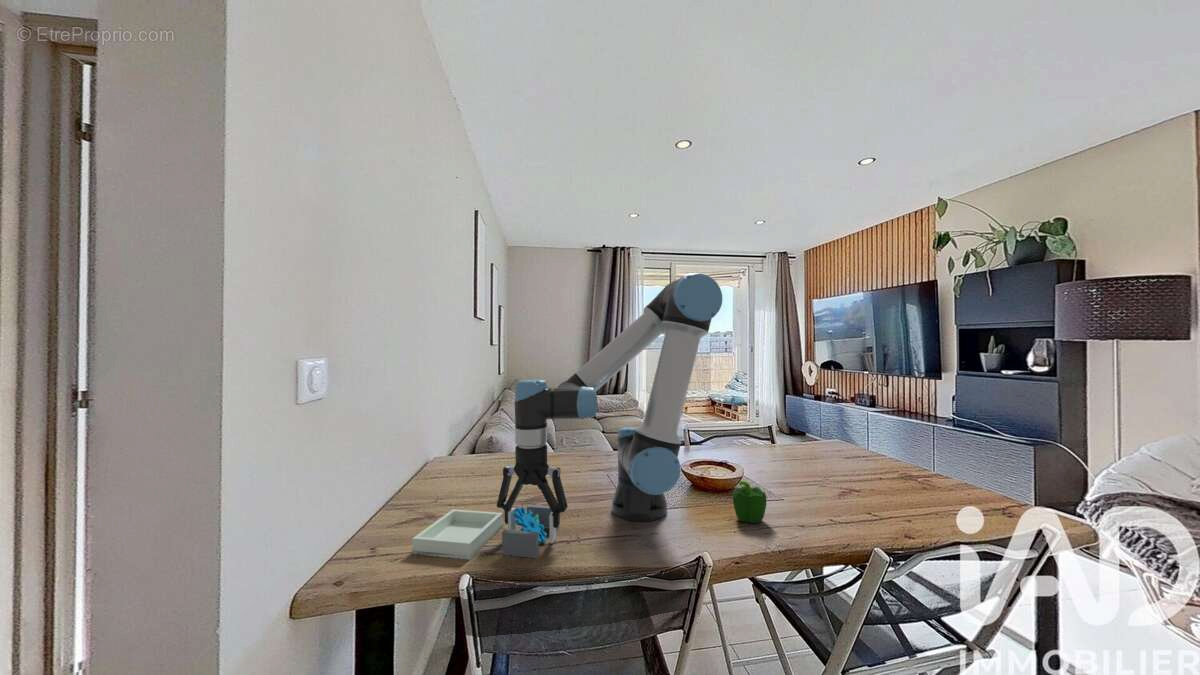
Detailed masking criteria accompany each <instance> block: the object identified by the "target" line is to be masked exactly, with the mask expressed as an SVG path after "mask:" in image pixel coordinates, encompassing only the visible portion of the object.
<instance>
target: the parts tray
mask: <svg viewBox="0 0 1200 675" xmlns="http://www.w3.org/2000/svg"><path fill="white" fill-rule="evenodd" d="M502 528H504V513H503V512H494V511H481V510H480V511H478V510H470V509H469V510H468V509H467V510H465V509H451V510H450V511H449V512H447V513H446V514H444V515H443V516H441V517H440V518H439V519H437V520H436V521H434V522H433V523H432V524H431V525H429V526H427V527H426V528H425V529H423V530H422V531H421V532H419V533H418V534H416V535H415V536H413V537H412V542H411V543H412V545H411V546H412V550H411V551H412V555H417V554H420V555H419V556H427V555H428V556H430V557H437V556H438V557H439V558H448V557H449V558H450V559H458V558H459V560H468V561H470V560H471V559H473V557H475V555H476V554H477V553H479V552H480V550H481V549H483V547H484V546H485V545H486V544H487V543H488V542H490V540H491V539H493V538H494V536H495V535H496V534H497V533H498V532H499V531H500V530H502Z"/></svg>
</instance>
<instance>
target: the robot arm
mask: <svg viewBox="0 0 1200 675" xmlns="http://www.w3.org/2000/svg"><path fill="white" fill-rule="evenodd" d="M722 305H723V293H722V289H721V287H720V286H719V284H718V283H717V281H716V280H715V279H714V278H712V277H711V276H710V275H708V274H706V273H701V272H695V273H687V274H685V275H683V276H681V277H679V278H678V279H675V280H673V281H671V282H670V283H668V284H666V286H664V288H663V289H662V290H661V291H660V292H659V293H658V294H657V295H656V296H655V298H653V299H652V300H651V301H650V302H649V303H648V304H647V305H646V306H645V307H643V312H642V314H641V315H639V317H638V318H636V319H635V320H634V321H633V322H632V323H631V324H630V325H629V326H627V327H626V328H625V329H624V330H623V331H622V332H620V333H619V334H618V335H617V336H616V337H615V338H613V339H612V341H610V342H609V343H608V344H607V345H606V346H604V347H603V348H602V349H601V350H599V351H598V353H596V354H595V355H594V356H593V357H591V359H589V360H588V361H587V362H586V363H585V364H584V365H583V366H581V367H580V368H579V369H578V370H577V371H575V373H574V374H572V375H571V376H570V377H569V378H568V379H567V380H565V381H562V382H561V383H560V384H559V385H558V386H557V387H550V386H549V387H548V385H547V381H546V380H545V379H539V378H537V379H529V378H528V379H521V380H518V381H517V382H516V384H515V387H514V388H515V389H514V424H515V425H514V427H515V428H514V429H515V430H514V433H515V434H514V437H515V438H514V439H515V440H514V443H515V445H516V447H515V448H514V449H515V451H514V452H515V453H514V454H515V465H511V464H507V465H506V466H505V467H504V468H502V475H503V476H502V481H501V485H500V490H499V495H498V497H497V498H498V499H497V502H496V508H498V509H503V511H504V524H505V525H507V530H516V528H517V527H516V526H517V525H516V522H515V521H516V520H517V518H515V517H514V516H513V515H514V513H515V512H516V511H515V510H516V507H513V506H514V504H515V502H516V499H517V498H518V496H519V494H520V492H521V490H522V488H523V486H528V485H531V486H537V487H538V489H539V490H540V492H541V493H542V495H543V498H544V499H545V502H546V503H547V506H549V507H550V509H551V511H552V512H551V514H550V515H549V528H548V529H549V543H550V544H554V543H555V541H556V539H557V529H558V528H559V527H560V524H561V513H564V512H566V510H567V508H568V502H567V497H566V494H565V491H564V487H563V484H562V479H561V470H562V469H561V468H560V467H558V466H557V467H556V468H553V467H549V465H548V445H547V443H548V420H557V419H558V420H563V419H564V420H566V419H568V420H569V419H571V420H572V419H580V420H583V419H591V418H595V416H596V415H597V410H598V400H597V399H598V397H597V391H598V390H600V388H602V387H603V386H604V385H605V384H606V383H607V382H609V380H611V379H612V378H613V377H614V376H615V375H617V374H618V373H619V372H620V371H621V370H622V369H624V367H626V365H628V364H629V363H630V362H631V361H633V360H634V358H636V357H637V356H638V355H639V354H640V353H642V352H643V351H644V350H645V349H646V348H648V346H650V345H651V344H652V343H653V342H654V341H655V340H656V339H658V338H659V337H660V336H661V335H664V337H663V342H662V346H661V349H660V354H659V358H658V362H657V366H656V370H655V373H654V378H653V382H652V387H651V390H650V394H649V398H648V402H647V404H646V405H647V406H646V410H645V413H644V418H643V420H642V421H643V422H642V424H641V425H639V426H625V427H622V428H621V427H620V428H619V429H618V431H617V438H616V441H617V485H616V489H615V491H614V495H613V498H612V502H611V511H612V513H613V515H615V516H616V517H617V518H620V519H623V520H626V521H631V522H632V521H633V522H650V521H655V520H659V519H662V518H664V517H665V516H666V515H667V513H668V502H667V499H666V497H665V494H666V493H667V492H669V491H670V490H672V489H673V488H674V487H676V485H677V483H678V482H679V479H680V477H681V472H682V471H681V464H680V459H679V458H678V456H679V453H680V448H681V444H682V440H681V439H680V436H679V435H678V430H679V426H680V422H681V418H682V415H683V409H684V406H685V401H686V398H687V394H688V390H689V385H690V382H691V378H692V374H693V371H694V370H693V369H694V365H695V361H696V357H697V353H698V348H699V345H700V341H701V339H702V338H703V337H704V336H707V335H708V334H709V331H710V326H711V322H712V319H714V317H716V315H717V314H719V312H720V310H721V308H722ZM514 473H515V475H516V476H517V477H518V479H517V480H516V483H515V485H514V488H513V489H512V492H511V493H510V496H509V497H508V493H509V490H510V485H511V481H512V477H513V475H514ZM548 474H549V477H550V479H551V481H552V487H553V490H554V493H555V495H554V493H553V491H552V489H551V487H550V484H549V482H548V479H547V475H548ZM507 498H508V499H507ZM558 526H559V527H558ZM556 528H557V529H556Z"/></svg>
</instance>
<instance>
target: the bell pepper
mask: <svg viewBox="0 0 1200 675" xmlns="http://www.w3.org/2000/svg"><path fill="white" fill-rule="evenodd" d="M738 483H739V485H740V486H741V487H736V488H734V489H733V491H732V503H733V509H734V512H735V515H736V518H737V519H738V520H739V521H741V522H745V523H746V522H749V523H752V524H759V523H761V522H762V521H763V519H764V517H765V513H766V509H767V494H766V492H765V491H762V489H761V488H760V487H759V486H757V487H751V485H750V483H749V482H746V481H743V480H741V481H740V480H739V481H738ZM742 485H743V486H742Z"/></svg>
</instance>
